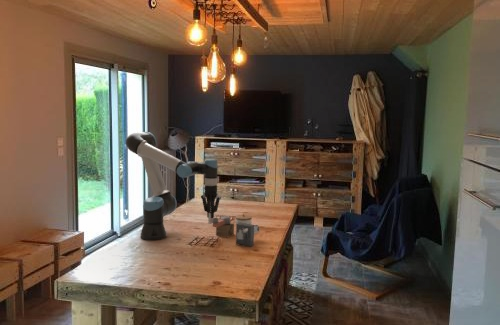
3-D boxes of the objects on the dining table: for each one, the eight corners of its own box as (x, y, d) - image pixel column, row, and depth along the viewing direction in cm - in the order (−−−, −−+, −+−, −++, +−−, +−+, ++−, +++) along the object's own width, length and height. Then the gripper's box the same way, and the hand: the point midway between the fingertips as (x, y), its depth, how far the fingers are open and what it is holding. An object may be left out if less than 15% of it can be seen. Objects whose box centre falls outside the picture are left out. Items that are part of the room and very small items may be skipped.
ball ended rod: (223, 221, 279) (223, 213, 278) (231, 223, 276) (232, 214, 275) (209, 227, 265) (209, 218, 264) (218, 228, 262) (218, 219, 261)
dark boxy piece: (250, 246, 253) (251, 226, 251) (235, 244, 257) (236, 224, 256) (253, 245, 256) (254, 224, 255) (239, 242, 261) (239, 222, 259)
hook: (243, 240, 250) (243, 230, 249) (236, 239, 252) (236, 229, 251) (259, 232, 267) (259, 223, 267) (252, 231, 269) (253, 222, 269)
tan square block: (227, 237, 270) (227, 226, 269) (216, 235, 274) (216, 224, 273) (233, 234, 277) (234, 223, 276) (222, 232, 281) (223, 221, 280)
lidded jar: (249, 231, 286) (250, 216, 285) (233, 229, 288) (233, 215, 287) (252, 226, 296) (253, 213, 295) (237, 225, 298) (237, 211, 297)
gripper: (223, 184, 267) (222, 223, 270) (204, 183, 273) (204, 220, 276) (217, 186, 261) (216, 225, 263) (198, 184, 266) (198, 223, 269)
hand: (210, 223), depth 270 cm, fingers closed
